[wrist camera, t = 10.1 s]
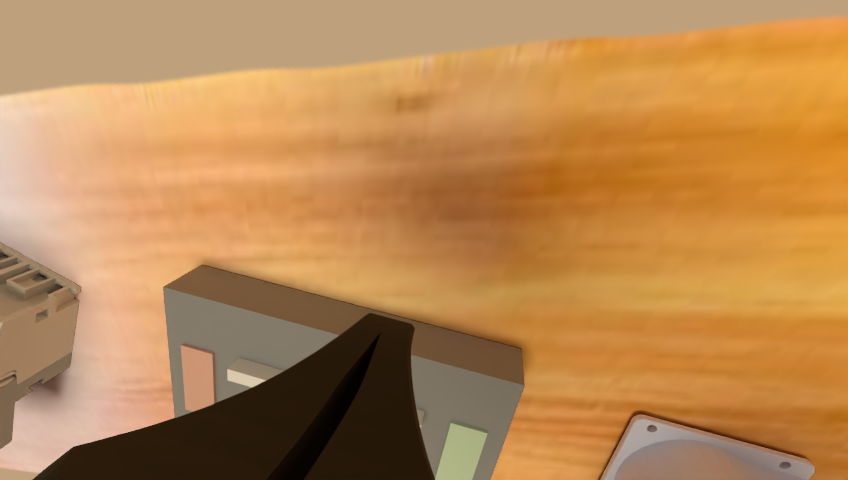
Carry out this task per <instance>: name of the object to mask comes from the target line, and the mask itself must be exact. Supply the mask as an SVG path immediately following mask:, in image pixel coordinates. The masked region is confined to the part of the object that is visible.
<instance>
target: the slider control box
mask: <svg viewBox="0 0 848 480" xmlns="http://www.w3.org/2000/svg"><path fill="white" fill-rule="evenodd" d="M163 291H164V302H165V313H166V324H167V335H168V346H169V358H170V369H171V380H172V391H173V402H174V413H175V418H177V417H180V416H182V415H185V414H188V413H191V412H194V411H196V410H199V409H202V408H205V407H207V406H210V405H212V404H215V403H217V402H219V401H222V400H224V399H227V398H229V397H231V396H234V395H236V394H238V393H241V392H243V391H245V390H248V389H250V388H252V387H254V386H256V385H258V384H260V383H262V382H264V381H266V380H268V379H270V378H272V377H274V376H276V375H278V374H279V373H281V372H283V371H285V370H286V369H288V368H290V367H292V366H293V365H295V364H297V363H298V362H300V361H301V360H303V359H305V358H306V357H308V356H310V355H311V354H313V353H314V352H316V351H317V350H319V349H320V348H322V347H323V346H325V345H326V344H328V343H329V342H330V341H332V340H333V339H335V338H336V337H338V336H339V335H340V334H342V333H343V332H344V331H346V330H347V329H348V328H350V327H351V326H352V325H354V324H355V323H356V322H357V321H359V320H360V319H361V318H363V317H364V316H365V315H367V314H369V313H373V314H377V315H380V316H384V317H388V318H392V319H396V320H399V321H403V322H407V323H411V324H412V325H413V326H414V328H415V331H414V336H413V341H412V346H411V368H412V382H413V390H414V397H415V404H416V409H417V415H418V420H419V425H420V429H421V433H422V437H423V441H424V445H425V448H426V452H427V456H428V459H429V462H430V465H431V468H432V471H433V474H434V477H435V480H490V479H491V477H492V474H493V471H494V468H495V465H496V463H497V460H498V457H499V454H500V452H501V449H502V446H503V443H504V441H505V438H506V435H507V432H508V430H509V427H510V424H511V421H512V419H513V416H514V413H515V410H516V408H517V405H518V402H519V399H520V397H521V394H522V391H523V388H524V374H523V361H522V349H520V348H516V347H512V346H508V345H505V344H501V343H497V342H493V341H489V340H486V339H482V338H478V337H474V336H470V335H467V334H463V333H459V332H455V331H451V330H448V329H444V328H440V327H436V326H432V325H429V324H425V323H421V322H417V321H413V320H410V319H406V318H402V317H398V316H394V315H391V314H387V313H383V312H379V311H375V310H372V309H368V308H364V307H360V306H356V305H353V304H349V303H345V302H341V301H337V300H334V299H330V298H326V297H322V296H318V295H315V294H311V293H307V292H303V291H299V290H296V289H292V288H288V287H284V286H280V285H277V284H273V283H269V282H265V281H262V280H258V279H254V278H250V277H246V276H243V275H239V274H235V273H231V272H227V271H224V270H220V269H216V268H212V267H208V266H205V265H200V266H199V267H197V268H195V269H193V270H192V271H190V272H188V273H187V274H185V275H183V276H181V277H180V278H178V279H176V280H175V281H173V282H171V283H169V284H168V285H166V286H164V287H163Z"/></svg>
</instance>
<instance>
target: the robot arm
mask: <svg viewBox="0 0 848 480" xmlns="http://www.w3.org/2000/svg"><path fill="white" fill-rule="evenodd" d="M414 331H415V328H414V326H413V325H412V324H411V323H407V322H403V321H399V320H396V319H392V318H388V317H384V316H380V315H377V314H373V313H369V314H367V315H365V316H364V317H363V318H361V319H360V320H359V321H357V322H356V323H355V324H354V325H352V326H351V327H350V328H348V329H347V330H346V331H344V332H343V333H342V334H340V335H339V336H338V337H336V338H335V339H333V340H332V341H330V342H329V343H328V344H326V345H325V346H323V347H322V348H320V349H319V350H317V351H316V352H314V353H313V354H311V355H310V356H308V357H306V358H305V359H303V360H301V361H300V362H298V363H297V364H295V365H293V366H292V367H290V368H288V369H286V370H285V371H283V372H281V373H279V374H278V375H276V376H274V377H272V378H270V379H268V380H266V381H264V382H262V383H260V384H258V385H256V386H254V387H252V388H250V389H248V390H245V391H243V392H241V393H238V394H236V395H234V396H231V397H229V398H227V399H224V400H222V401H219V402H217V403H215V404H212V405H210V406H207V407H205V408H202V409H199V410H196V411H194V412H191V413H188V414H185V415H182V416H180V417H177V418H173V419H170V420H167V421H164V422H161V423H158V424H155V425H152V426H149V427H145V428H142V429H139V430H135V431H131V432H128V433H124V434H120V435H117V436H113V437H109V438H106V439H102V440H98V441H94V442H91V443H87V444H83V445H79V446H75V447H73V448H71V449H70V450H69V451H68V452H66V453H65V454H64V455H62V456H61V457H60V458H59V459H57V460H56V461H55V462H53V463H52V464H51V465H50V466H48V467H47V468H46V469H45V470H43V471H42V472H41V473H40V474H39V475H38V476H36V477H35V478H34V479H33V480H435V477H434V474H433V471H432V468H431V465H430V462H429V459H428V456H427V452H426V448H425V445H424V441H423V437H422V433H421V429H420V425H419V420H418V415H417V409H416V404H415V397H414V390H413V382H412V368H411V346H412V341H413V336H414ZM650 425H653V426H651V427H648V426H650ZM814 472H815V467H814V466H813V464H812V463H811V462H810V461H809V460H807V459H805V458H801V457H797V456H794V455H790V454H786V453H783V452H779V451H775V450H772V449H768V448H764V447H761V446H757V445H753V444H749V443H746V442H742V441H738V440H735V439H731V438H727V437H724V436H720V435H716V434H713V433H709V432H705V431H702V430H698V429H694V428H691V427H687V426H683V425H680V424H676V423H672V422H669V421H665V420H661V419H658V418H654V417H650V416H646V415H641V414H640V415H636V416H634V417H633V418H632V419H631V421H630V423H629V425H628V427H627V429H626V431H625V433H624V435H623V437H622V439H621V440H620V442H619V444H618V446H617V448H616V450H615V452H614V454H613V456H612V458H611V460H610V462H609V463H608V465H607V467H606V469H605V471H604V473H603V475H602V477H601V479H600V480H809V478H810V477H811V476H812V475H813V474H814Z"/></svg>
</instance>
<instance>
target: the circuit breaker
mask: <svg viewBox="0 0 848 480" xmlns="http://www.w3.org/2000/svg"><path fill="white" fill-rule="evenodd" d="M6 255H7V256H9V258H8V257H7V256H6ZM41 274H42V275H44V276H45V277H47V278H48V279H47V278H45V277H43V276H41ZM60 285H61V286H62V287H63V288H61V289H60ZM79 292H81V287H80V286H79V285H77V284H75V283H73V282H71V281H69V280H68V279H66V278H64V277H62V276H60V275H58V274H57V273H55V272H53V271H51V270H49V269H48V268H46V267H44V266H42V265H40V264H38V263H37V262H35V261H33V260H31V259H29V258H28V257H26V256H24V255H22V254H20V253H18V252H17V251H15V250H13V249H11V248H9V247H7V246H6V245H4V244H2V243H0V449H1V448H2V447H4V446H5V445H7V444H8V443H9V442H11V440H12V431H13V418H14V405H15V402H16V401H17V400H19V399H20V398H22V397H24V396H25V395H27V394H28V393H30V392H31V391H33V390H31V389H29V388H28V387H29V386H31V385H33V384H34V383H36V382H37V381H39V382H41V383H42V384H44V383H45V382H47V381H48V380H50V379H51V378H53V377H54V376H56V375H58V374H59V373H61V372H62V371H64V370H65V369H67V368H69V366H70V363H71V356H72V349H73V342H74V335H75V328H76V321H77V313H78V306H79V301H78V300H76V299H74V298H75V294H77V293H79Z"/></svg>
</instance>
